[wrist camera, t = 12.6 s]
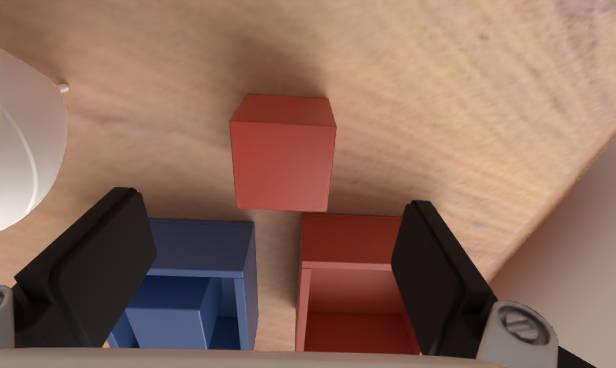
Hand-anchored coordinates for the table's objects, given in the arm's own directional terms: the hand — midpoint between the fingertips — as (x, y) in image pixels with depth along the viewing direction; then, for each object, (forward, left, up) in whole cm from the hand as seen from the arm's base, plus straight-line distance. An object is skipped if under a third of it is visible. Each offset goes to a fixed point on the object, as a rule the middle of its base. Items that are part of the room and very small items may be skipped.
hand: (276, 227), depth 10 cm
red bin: (+11, +6, -8) cm, 15 cm away
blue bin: (+12, -7, -8) cm, 16 cm away
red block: (0, 0, -8) cm, 8 cm away
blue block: (+11, -7, -8) cm, 15 cm away
